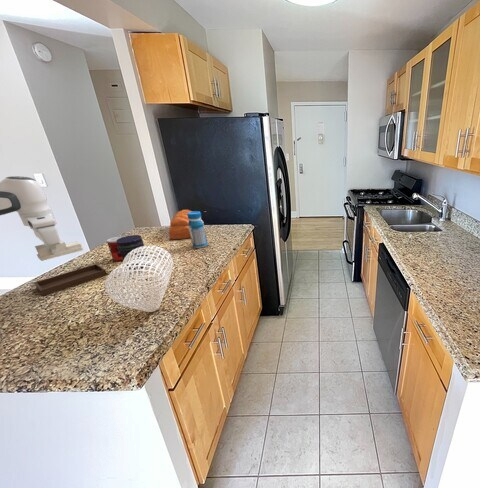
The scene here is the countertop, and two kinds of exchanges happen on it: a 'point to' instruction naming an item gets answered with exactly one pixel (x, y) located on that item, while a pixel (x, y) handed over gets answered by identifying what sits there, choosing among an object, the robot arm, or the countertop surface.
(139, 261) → the white mesh basket
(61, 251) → the white block
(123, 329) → the countertop surface
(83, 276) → the tray
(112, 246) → the canned food
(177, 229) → the bread
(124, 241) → the storage jar
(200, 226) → the beverage bottle
